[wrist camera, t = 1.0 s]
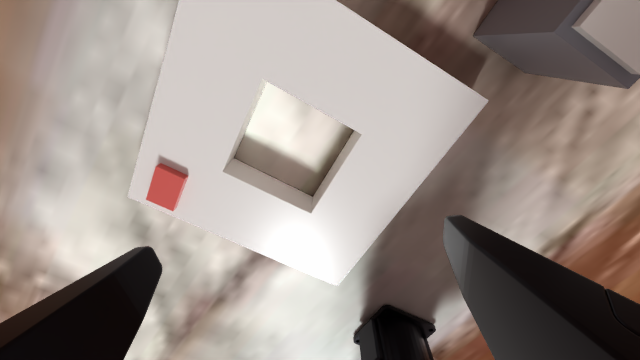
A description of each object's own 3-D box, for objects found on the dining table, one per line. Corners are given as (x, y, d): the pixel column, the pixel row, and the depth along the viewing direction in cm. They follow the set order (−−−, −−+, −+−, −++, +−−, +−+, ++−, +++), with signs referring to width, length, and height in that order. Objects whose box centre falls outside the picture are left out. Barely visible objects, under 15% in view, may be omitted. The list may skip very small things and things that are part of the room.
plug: (584, 1, 16) (758, -26, 10) (525, 72, 18) (637, 90, 12) (529, -44, 15) (678, -108, 9) (472, 35, 17) (561, 31, 11)
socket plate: (470, 93, 19) (494, 102, 16) (336, 265, 26) (337, 292, 23) (220, -69, 15) (196, -94, 13) (147, 181, 23) (121, 201, 20)
